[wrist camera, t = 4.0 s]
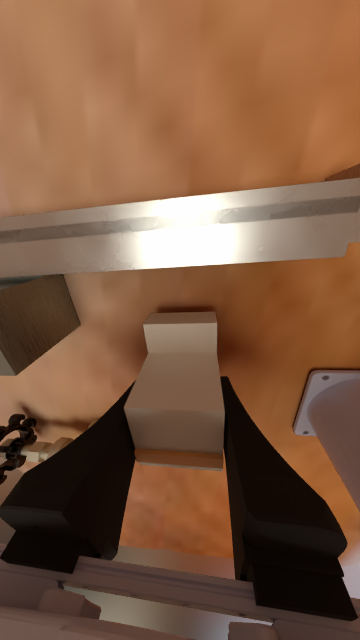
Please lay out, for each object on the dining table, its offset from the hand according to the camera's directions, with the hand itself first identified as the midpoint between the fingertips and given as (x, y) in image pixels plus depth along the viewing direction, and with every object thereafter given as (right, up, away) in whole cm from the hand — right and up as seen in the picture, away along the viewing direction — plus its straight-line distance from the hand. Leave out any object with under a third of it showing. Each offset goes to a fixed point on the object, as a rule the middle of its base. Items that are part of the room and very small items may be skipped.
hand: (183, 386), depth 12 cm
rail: (-3, +8, +1) cm, 9 cm away
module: (0, +2, +2) cm, 3 cm away
